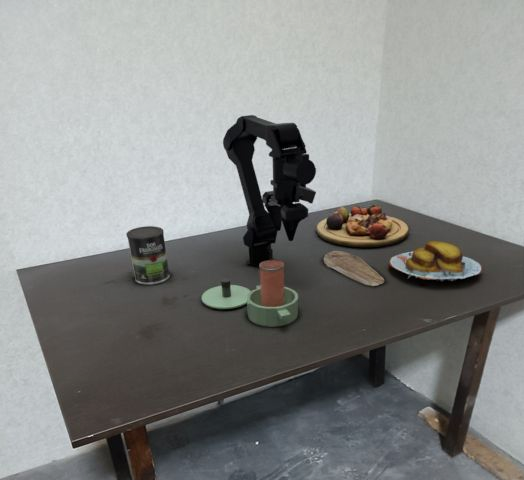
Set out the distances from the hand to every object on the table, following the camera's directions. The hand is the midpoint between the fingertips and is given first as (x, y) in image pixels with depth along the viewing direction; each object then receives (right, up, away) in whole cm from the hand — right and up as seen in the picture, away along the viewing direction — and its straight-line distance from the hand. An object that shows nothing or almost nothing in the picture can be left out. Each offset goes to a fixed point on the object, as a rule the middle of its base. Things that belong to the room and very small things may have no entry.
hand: (284, 235), depth 133 cm
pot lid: (-16, -17, -3) cm, 24 cm away
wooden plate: (+29, +10, +38) cm, 49 cm away
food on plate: (+44, -9, +8) cm, 45 cm away
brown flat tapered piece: (+21, -8, +11) cm, 25 cm away
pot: (-3, -23, -11) cm, 25 cm away
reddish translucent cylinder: (-3, -22, -11) cm, 25 cm away
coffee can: (-39, -10, +11) cm, 42 cm away
